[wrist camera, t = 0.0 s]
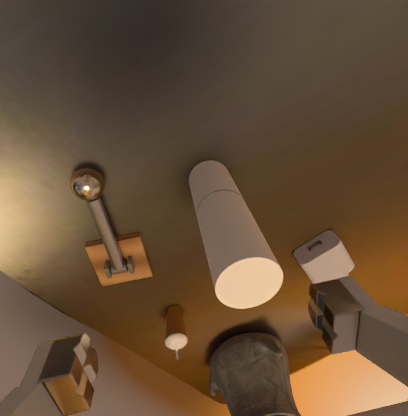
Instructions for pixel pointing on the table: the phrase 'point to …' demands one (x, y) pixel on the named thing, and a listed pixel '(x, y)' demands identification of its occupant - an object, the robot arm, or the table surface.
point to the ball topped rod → (98, 213)
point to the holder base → (131, 253)
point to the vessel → (253, 376)
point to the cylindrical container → (232, 240)
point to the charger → (324, 258)
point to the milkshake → (175, 329)
